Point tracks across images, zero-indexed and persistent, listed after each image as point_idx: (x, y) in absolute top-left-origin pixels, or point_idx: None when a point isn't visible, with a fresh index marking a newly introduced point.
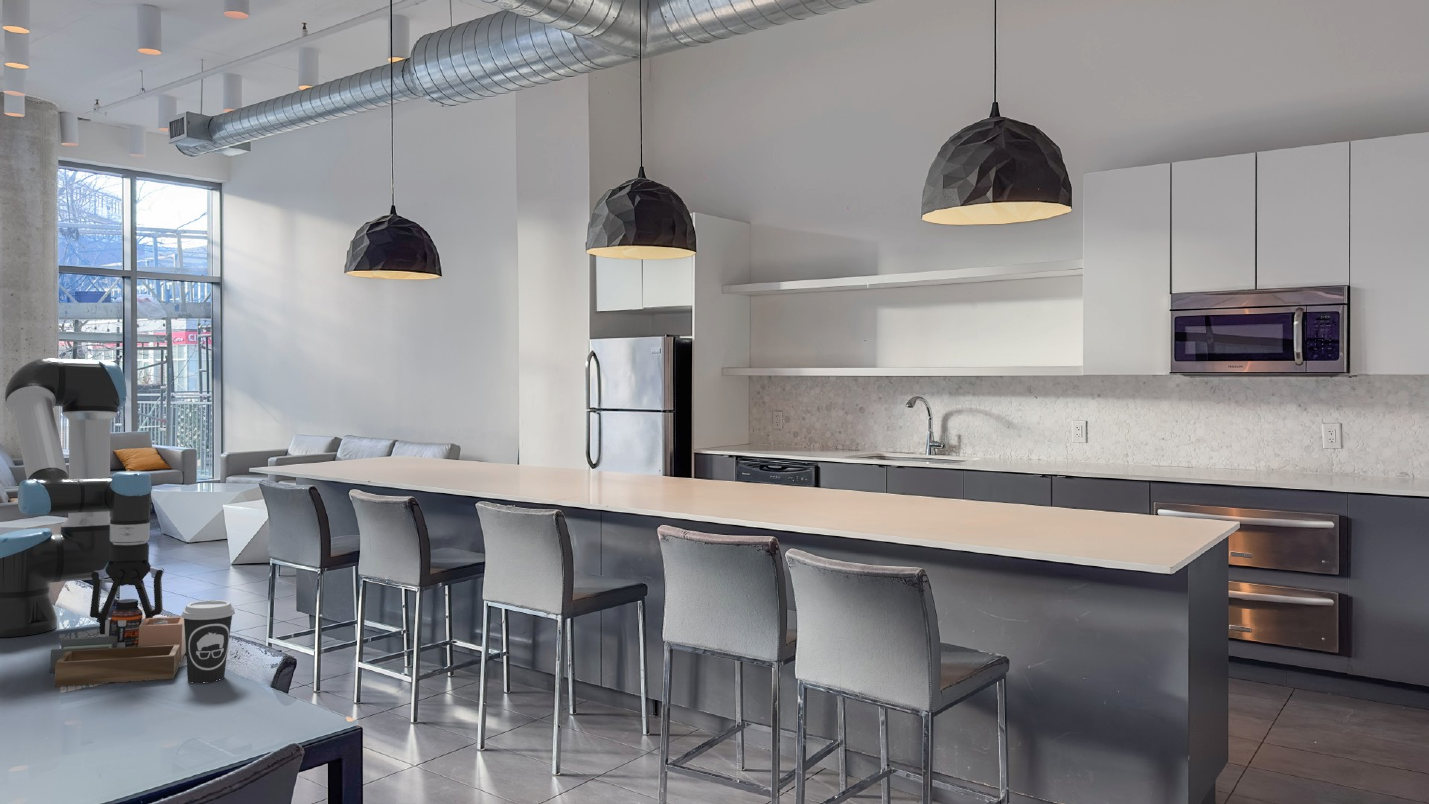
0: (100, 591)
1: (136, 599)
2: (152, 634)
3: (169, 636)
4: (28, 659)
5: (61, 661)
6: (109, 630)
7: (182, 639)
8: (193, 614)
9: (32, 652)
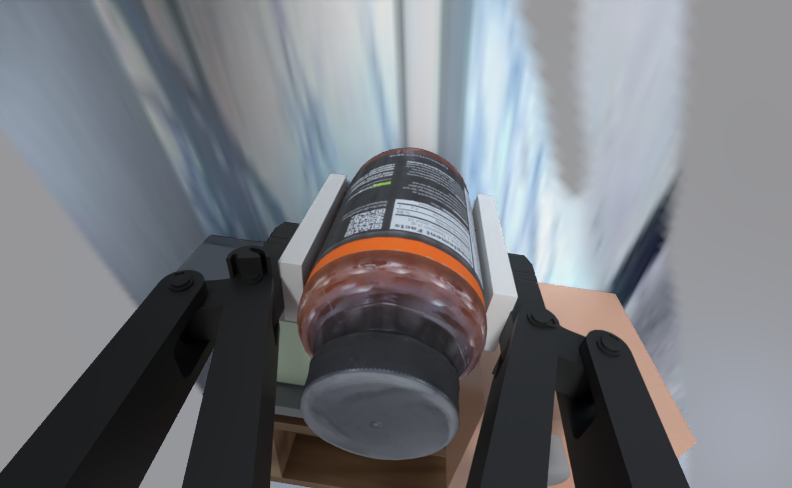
0: (96, 480)
1: (447, 413)
2: None
3: None
4: (83, 177)
5: (278, 476)
6: None
7: None
8: None
9: (9, 45)
